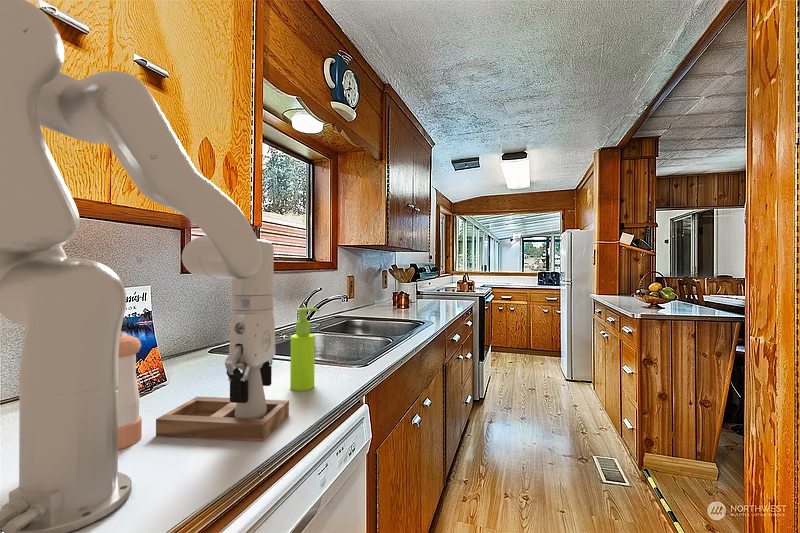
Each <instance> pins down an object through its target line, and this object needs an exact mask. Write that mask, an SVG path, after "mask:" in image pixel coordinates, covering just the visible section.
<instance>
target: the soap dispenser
mask: <svg viewBox="0 0 800 533" xmlns="http://www.w3.org/2000/svg"><path fill="white" fill-rule="evenodd" d="M296 311H297V312H299V320H297V321H296V322H295V334H292V335H290V370H289V371H290V381H289V382H290V383H289V384H290V385H289V386H290V390H291V391H297V392H298V391H299V392H303V391H310V390H311V389H314V388H315V361H316V360H315V359H316V357H315V353H316V351H315V349H316V348H315V342H316V340H315V338H316V335H315V334H314V333H311V331H310V330H311V326H310V325H311V324H310V323H311V322H310V320H308V319H307V312H310V311H311V312H319V311H320V309H319V308H315V307H301V308H297V309H296Z"/></svg>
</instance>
